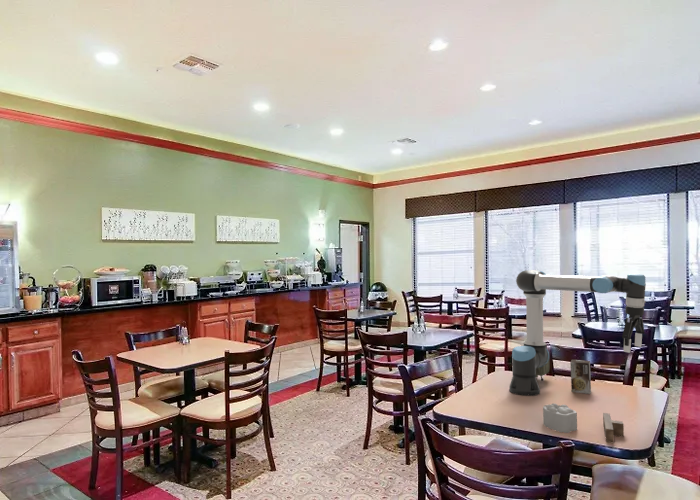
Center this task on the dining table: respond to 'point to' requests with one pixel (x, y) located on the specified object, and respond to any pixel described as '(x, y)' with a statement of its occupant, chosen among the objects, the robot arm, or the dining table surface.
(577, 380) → the coffee box
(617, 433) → the t stop
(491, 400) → the dining table surface
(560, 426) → the lumpy-topped squat cylinder
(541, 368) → the tabletop clock
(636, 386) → the dining table surface
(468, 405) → the dining table surface
